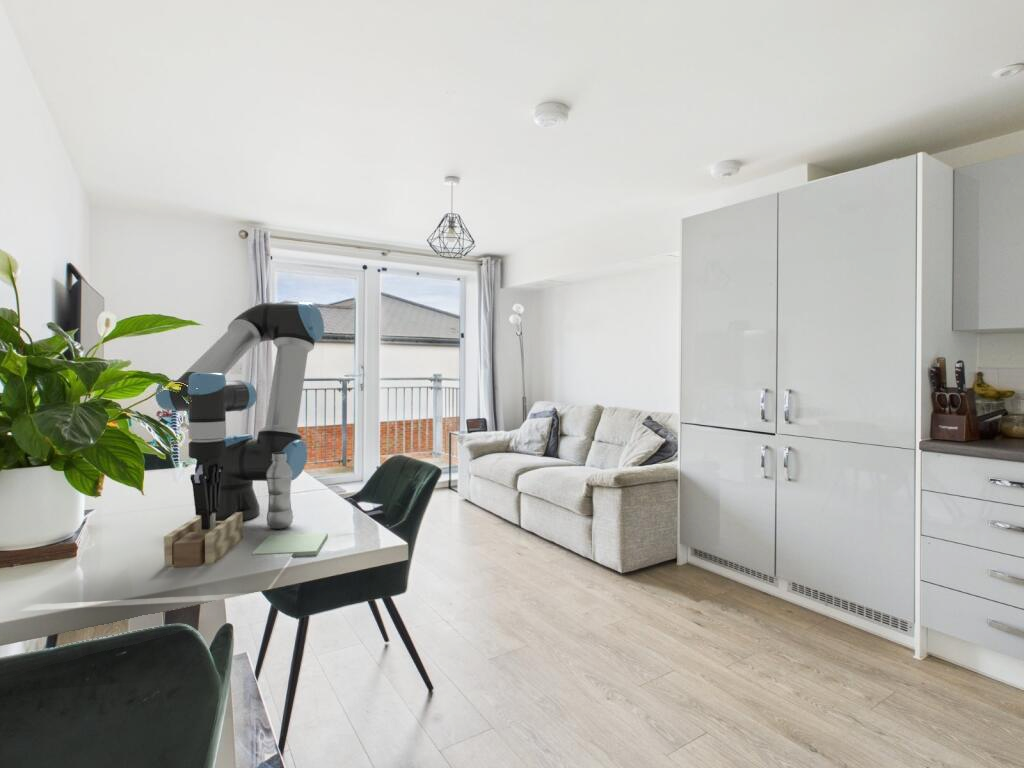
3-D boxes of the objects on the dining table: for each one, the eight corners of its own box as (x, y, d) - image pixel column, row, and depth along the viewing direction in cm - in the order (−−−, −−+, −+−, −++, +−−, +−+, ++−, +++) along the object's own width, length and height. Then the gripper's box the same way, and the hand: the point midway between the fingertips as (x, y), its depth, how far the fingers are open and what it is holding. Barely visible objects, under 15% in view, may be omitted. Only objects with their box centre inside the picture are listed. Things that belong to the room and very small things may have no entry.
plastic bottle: (298, 525, 149) (298, 452, 149) (280, 532, 143) (280, 455, 142) (279, 523, 152) (278, 450, 151) (260, 530, 145) (260, 454, 145)
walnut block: (190, 554, 123) (189, 532, 123) (214, 553, 124) (213, 531, 124) (173, 567, 116) (173, 543, 115) (199, 565, 116) (199, 542, 116)
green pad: (269, 539, 137) (269, 535, 137) (327, 536, 139) (327, 532, 139) (251, 558, 124) (251, 553, 123) (316, 555, 126) (316, 550, 126)
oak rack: (201, 542, 135) (200, 513, 135) (242, 540, 136) (242, 512, 136) (164, 569, 116) (164, 536, 116) (212, 567, 118) (212, 534, 117)
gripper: (201, 436, 133) (202, 534, 133) (177, 443, 120) (177, 551, 120) (234, 436, 134) (235, 533, 134) (213, 443, 121) (214, 550, 121)
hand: (208, 541), depth 127 cm, fingers closed
